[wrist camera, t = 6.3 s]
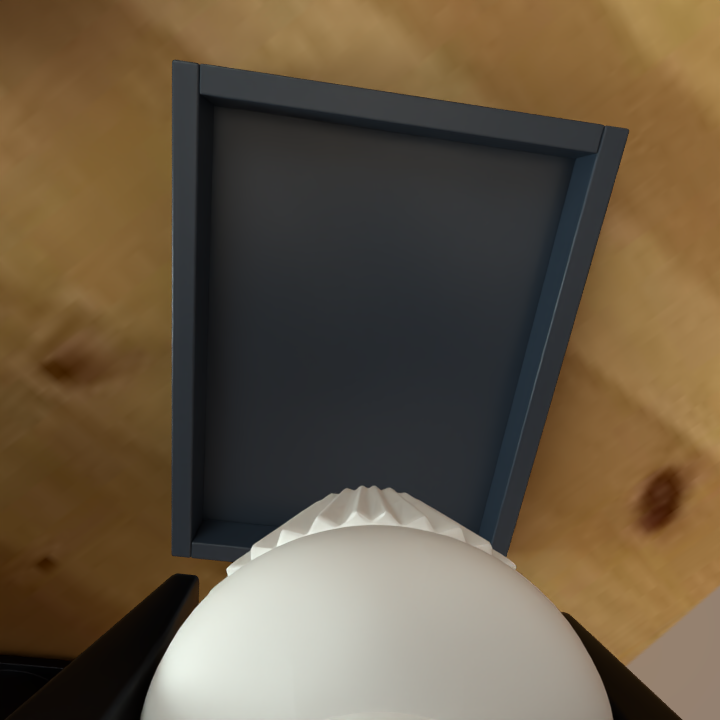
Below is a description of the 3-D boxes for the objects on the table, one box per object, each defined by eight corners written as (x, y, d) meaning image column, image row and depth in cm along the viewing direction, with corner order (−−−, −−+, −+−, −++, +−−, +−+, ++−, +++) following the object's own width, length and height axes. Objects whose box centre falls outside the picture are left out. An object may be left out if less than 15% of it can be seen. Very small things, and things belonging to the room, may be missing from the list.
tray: (189, 522, 20) (171, 556, 18) (195, 78, 15) (171, 58, 13) (484, 553, 21) (498, 589, 19) (595, 139, 15) (631, 128, 13)
